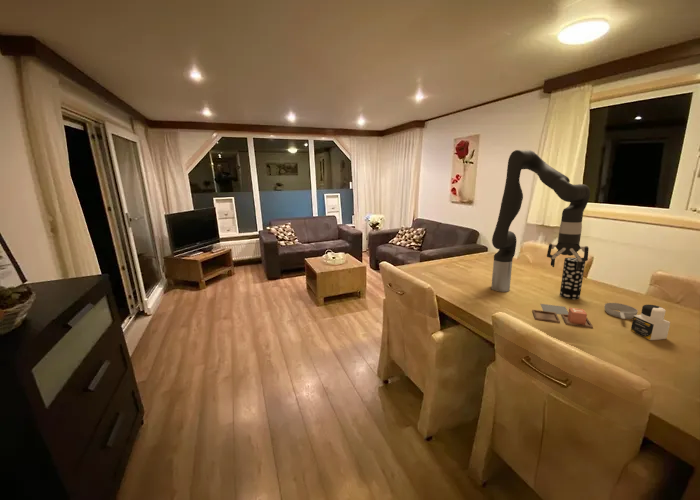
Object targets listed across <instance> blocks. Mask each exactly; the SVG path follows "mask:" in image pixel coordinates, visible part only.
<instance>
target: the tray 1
mask: <svg viewBox="0 0 700 500" xmlns="http://www.w3.org/2000/svg"><path fill="white" fill-rule="evenodd" d="M531 312H532V315H533V317H534V320H535V321H542V322H547V323H548V322H549V323H557V324H561V320H560V319H559V316H558V314H556V313H555V312H548V311H543V310H540V309H532V311H531Z"/></svg>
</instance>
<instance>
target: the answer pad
mask: <svg viewBox="0 0 700 500" xmlns="http://www.w3.org/2000/svg"><path fill="white" fill-rule="evenodd" d="M540 307H541V309H542V311H548V312H555V313H556V314H557V315H561V314H567V315H568V313H569V310H567V308H566V306H563V305H555V304H547V303H546V304H545V303H540Z"/></svg>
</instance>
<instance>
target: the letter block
mask: <svg viewBox="0 0 700 500" xmlns="http://www.w3.org/2000/svg"><path fill="white" fill-rule="evenodd" d="M586 318H588V314H587V311H586V310H585V309H583V308H576V307H575V308H574V307H569V308H568V319H569V321H570V323H576V324H583V325H585V324H586Z"/></svg>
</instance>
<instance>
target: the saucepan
mask: <svg viewBox="0 0 700 500" xmlns="http://www.w3.org/2000/svg"><path fill="white" fill-rule="evenodd" d="M604 311H605V312H606V313H607V314H608V315H610V316H613V317H616V318H620V319H622V320H625V319H627V320H633V317H634V315H638V311H639V310H638V309H637V308H635V307H633V306H631V305H627V304H624V303H619V302H607V303H604Z"/></svg>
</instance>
